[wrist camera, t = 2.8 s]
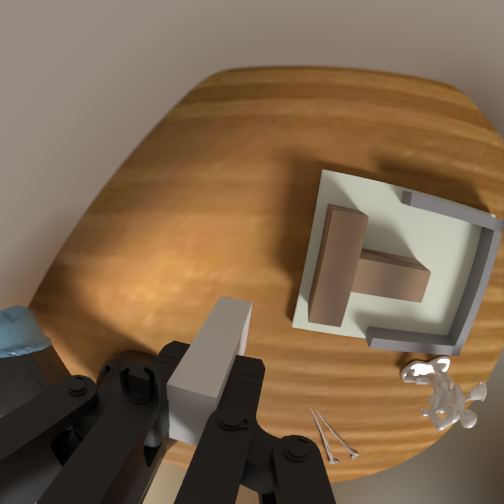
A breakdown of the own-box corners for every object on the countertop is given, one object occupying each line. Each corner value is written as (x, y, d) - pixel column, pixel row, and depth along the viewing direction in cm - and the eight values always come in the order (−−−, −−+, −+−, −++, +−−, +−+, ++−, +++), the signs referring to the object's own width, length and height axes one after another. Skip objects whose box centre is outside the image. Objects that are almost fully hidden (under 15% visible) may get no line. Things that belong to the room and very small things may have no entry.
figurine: (398, 362, 31) (426, 434, 20) (463, 336, 29) (508, 395, 18) (401, 389, 32) (424, 459, 21) (463, 365, 30) (500, 424, 18)
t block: (307, 303, 30) (308, 322, 26) (328, 203, 27) (332, 209, 23) (398, 317, 29) (409, 336, 25) (424, 224, 26) (441, 233, 22)
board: (292, 322, 32) (291, 339, 28) (321, 169, 27) (324, 169, 24) (449, 343, 29) (459, 358, 26) (490, 213, 25) (507, 219, 22)
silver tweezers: (359, 452, 37) (360, 461, 35) (331, 461, 38) (331, 469, 36) (319, 377, 35) (319, 386, 33) (286, 389, 36) (284, 398, 34)
